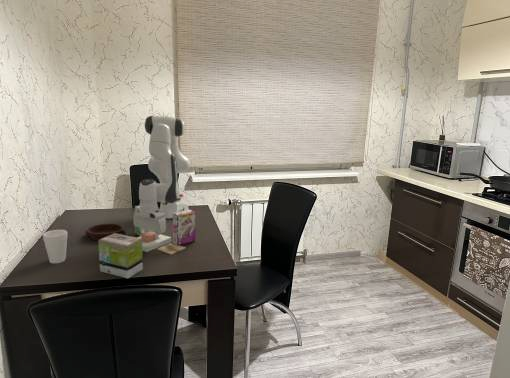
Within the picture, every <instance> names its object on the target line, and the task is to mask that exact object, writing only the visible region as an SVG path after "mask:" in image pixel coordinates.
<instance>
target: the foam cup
mask: <svg viewBox="0 0 510 378" xmlns="http://www.w3.org/2000/svg"><path fill="white" fill-rule="evenodd" d="M42 238H43V239H42V241H44V246H45V250H46V253H47V257H48V260H49V263H50V264H60V263H63V262H65V261H66V260H65V259H66V258H67V244H68V242H67V241H68V231H67V229H66V230H65V229H53V230H49V231H46V232H44V233H43V234H42Z"/></svg>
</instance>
